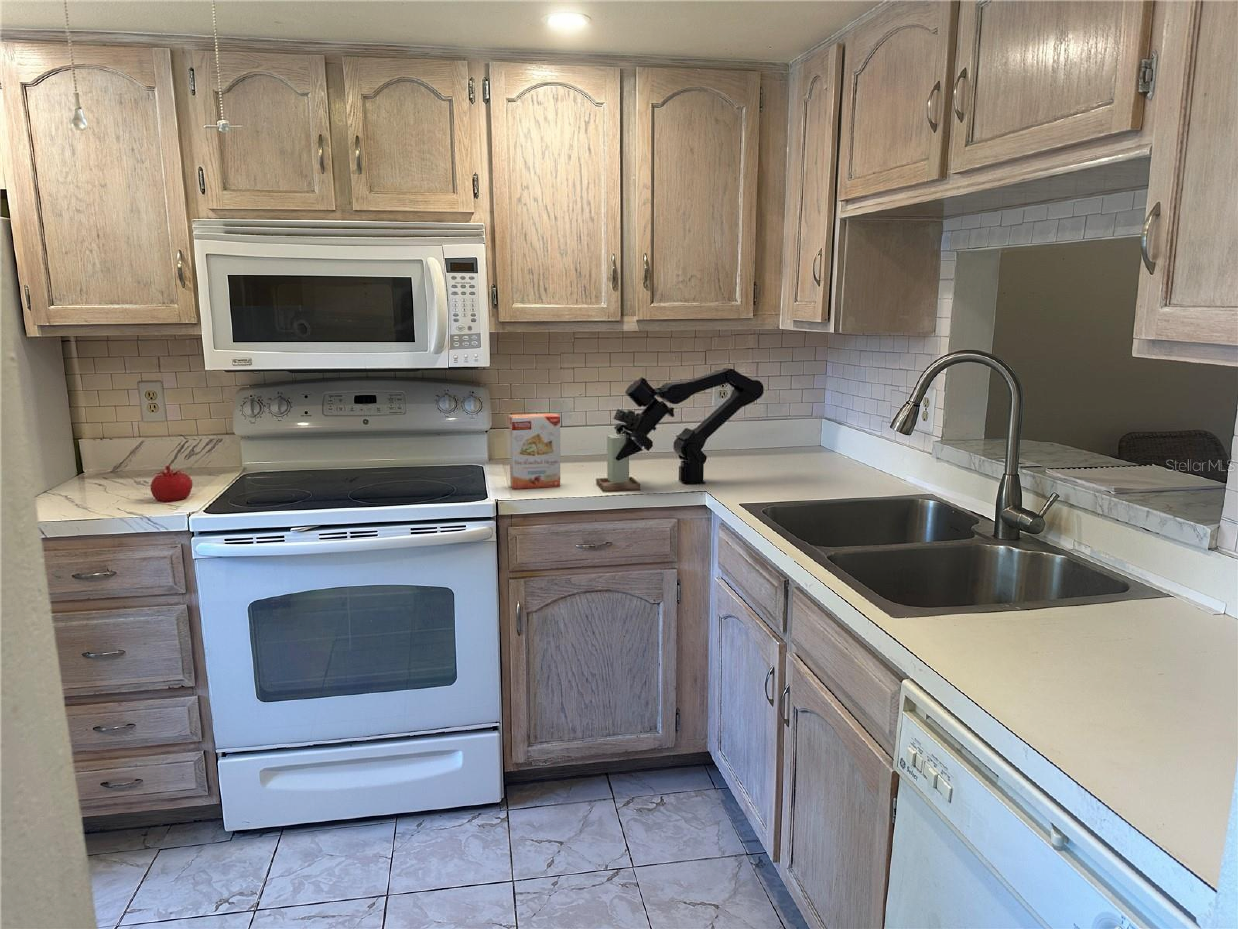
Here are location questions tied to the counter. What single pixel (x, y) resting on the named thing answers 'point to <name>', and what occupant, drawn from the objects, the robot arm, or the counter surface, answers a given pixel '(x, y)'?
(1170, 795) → the counter surface
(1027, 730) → the counter surface
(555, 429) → the cracker box
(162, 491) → the red tomato
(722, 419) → the robot arm
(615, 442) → the sage wooden block
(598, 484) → the walnut tray
